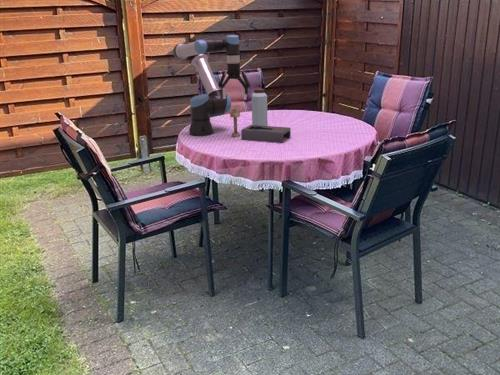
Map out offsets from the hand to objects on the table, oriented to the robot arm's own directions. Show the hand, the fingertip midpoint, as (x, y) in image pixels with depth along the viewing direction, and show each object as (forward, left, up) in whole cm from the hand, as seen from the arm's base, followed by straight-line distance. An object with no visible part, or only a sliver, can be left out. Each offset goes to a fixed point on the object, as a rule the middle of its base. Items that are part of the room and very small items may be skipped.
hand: (234, 99), depth 305 cm
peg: (0, 0, -23) cm, 23 cm away
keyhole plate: (+20, 0, -23) cm, 30 cm away
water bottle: (+6, +24, -23) cm, 34 cm away
